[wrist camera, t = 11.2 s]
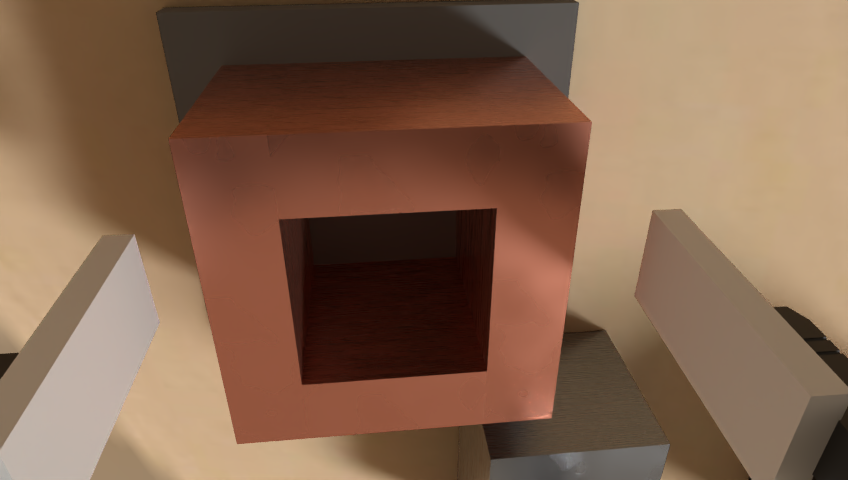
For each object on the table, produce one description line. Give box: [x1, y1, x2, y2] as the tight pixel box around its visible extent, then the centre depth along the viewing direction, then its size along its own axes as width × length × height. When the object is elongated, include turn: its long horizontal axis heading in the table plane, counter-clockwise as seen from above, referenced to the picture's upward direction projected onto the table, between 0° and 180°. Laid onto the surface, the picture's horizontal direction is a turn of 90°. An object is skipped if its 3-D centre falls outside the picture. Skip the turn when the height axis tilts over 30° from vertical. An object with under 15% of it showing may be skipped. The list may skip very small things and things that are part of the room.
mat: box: [156, 0, 579, 265], centre depth 21 cm, size 12×12×1 cm
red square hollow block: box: [168, 56, 592, 444], centre depth 18 cm, size 9×9×6 cm
